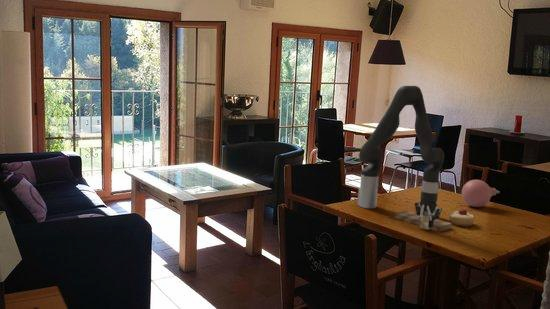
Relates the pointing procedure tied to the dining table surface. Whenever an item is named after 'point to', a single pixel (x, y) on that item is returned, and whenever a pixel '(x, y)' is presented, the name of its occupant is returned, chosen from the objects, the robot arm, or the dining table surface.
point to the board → (415, 219)
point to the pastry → (461, 218)
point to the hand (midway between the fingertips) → (426, 226)
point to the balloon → (477, 193)
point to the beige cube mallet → (424, 221)
